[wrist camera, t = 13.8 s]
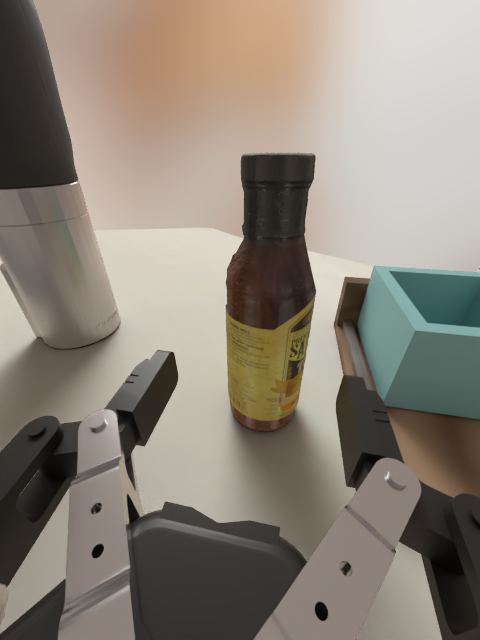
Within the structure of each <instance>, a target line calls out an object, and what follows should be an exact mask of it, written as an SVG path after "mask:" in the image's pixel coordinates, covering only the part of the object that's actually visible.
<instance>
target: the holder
mask: <svg viewBox="0 0 480 640" xmlns="http://www.w3.org/2000/svg"><path fill="white" fill-rule="evenodd" d="M356 327H357V330H358V333H359V336H360V339H361V342H362V345H363V348H364V352H365V355H366V358H367V361H368V364H369V367H370V370H371V373H372V376H373V380H374V383H375V386H376V389H377V392H378V395H379V396H380V397H381V399H382V400H383V401H384V404H385V406H390V407H397V408H404V409H411V410H418V411H425V412H432V413H439V414H446V415H453V416H460V417H467V418H474V419H480V273H479V272H462V271H446V270H431V269H415V268H400V267H384V266H374V267H373V271H372V274H371V278H370V281H369V285H368V288H367V291H366V295H365V298H364V302H363V305H362V309H361V312H360V315H359V319H358V322H357V326H356Z"/></svg>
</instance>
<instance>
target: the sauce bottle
mask: <svg viewBox="0 0 480 640" xmlns="http://www.w3.org/2000/svg"><path fill="white" fill-rule="evenodd" d="M314 168H315V155H314V154H312V153H307V154H306V153H250V154H243V155H242V157H241V180H242V187H243V190H244V224H243V225H242V230H243V235H244V240H243V241H242V243H241V245H240V247H239V249H238V251H237V252H236V253H235V254H234V255H233V256H232V259H231V262H230V264H229V266H228V269H227V279H226V286H227V305H226V332H227V365H228V391H229V398H230V404H231V409H232V412H233V413H234V415H235V417H236V419H237V420H238V421H239V422H240V423H241V424H243V425H244V426H245V427H247V428H250V429H253V430H257V431H274V430H277V429H279V428H281V427H283V426H284V425H285V424H287V422H288V421H289V420H290V418H291V417H292V415H293V413H294V410H295V407H296V406H297V403H298V399H299V393H300V386H301V380H302V375H303V369H304V363H305V357H306V350H307V345H308V339H309V332H310V327H311V326H310V325H311V319H312V314H313V309H314V301H315V294H316V289H315V284H314V280H313V276H312V271H311V267H310V262H309V258H308V253H307V248H306V243H305V237H304V233H305V216H306V208H307V202H308V190H309V188H310V186H311V184H312V182H313V179H314Z"/></svg>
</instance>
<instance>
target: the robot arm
mask: <svg viewBox="0 0 480 640" xmlns="http://www.w3.org/2000/svg"><path fill="white" fill-rule="evenodd" d="M0 258H1V260H2V262H3V264H1V266H0V270H1V272H2V274H3V276H4V277H5V279H6V281H7V283H8V285H9V287H10V289H11V290H12V292H13V294H14V296H15V298H16V300H17V302H18V304H19V305H20V307H21V309H22V311H23V313H24V315H25V317H26V319H27V320H28V322H29V324H30V326H31V328H32V330H33V332H34V333H35V335H36V337H41V338H43V340H44V342H45V343H46V344H47V345H48V346H51V347H54V348H60V349H67V348H76V347H81V346H85V345H89V344H92V343H94V342H97V341H99V340H101V339H103V338H105V337H107V336H108V335H110V334H111V333H112V332H113V331H115V329H116V328H117V327H118V326H119V323H120V316H119V313H118V309H117V306H116V303H115V299H114V296H113V292H112V289H111V286H110V282H109V279H108V276H107V272H106V269H105V266H104V263H103V259H102V256H101V253H100V249H99V246H98V243H97V239H96V236H95V233H94V229H93V226H92V223H91V219H90V216H89V213H88V210H87V206H86V203H85V200H84V196H83V193H82V190H81V187H80V184H79V181H78V177H77V174H76V170H75V166H74V161H73V151H72V144H71V139H70V135H69V132H68V127H67V124H66V120H65V116H64V112H63V109H62V104H61V100H60V97H59V93H58V89H57V84H56V80H55V76H54V72H53V68H52V63H51V59H50V55H49V51H48V47H47V43H46V40H45V36H44V32H43V29H42V26H41V23H40V20H39V17H38V14H37V11H36V8H35V5H34V2H33V0H0ZM177 381H178V371H177V366H176V360H175V355H174V353H173V352H169V351H161V350H157V351H156V352H155V354H154V355H153V356H152V358H151V359H150V360H148V359H145V360H144V361H143V362H141V363H140V364H138V365H137V366H136V367H135V369H134V370H133V371H132V373H131V374H130V376H129V377H128V378H127V379H126V381H125V383H123V385H122V386H121V387H120V389H119V390H118V391H117V393H116V394H115V395H114V397H113V398H112V399H111V401H110V402H109V403H108V405H107V406H106V407H105V408H104V409H103V410H99V411H96V412H94V413H92V414H90V415H89V416H87V417H86V418H85V419H84V420H83V421H79V422H72V423H64V424H60V422H59V421H58V419H57V418H56V417H53V416H44V417H40V418H37V419H35V420H33V421H31V422H30V423H28V424H27V425H26V426H25V427H24V428H23V429H22V430H21V431H20V432H19V433H18V434H17V435H16V436H15V437H14V438H13V439H12V440H11V441H10V443H9V444H8V445H7V446H6V447H5V448H4V449H3V450H2V451H1V452H0V624H1V622H2V620H3V618H4V610H5V607H6V604H7V599H8V590H7V586H8V585H9V583H10V582H11V580H12V578H13V577H14V575H15V574H16V572H17V570H18V569H19V567H20V566H21V564H22V562H23V561H24V559H25V558H26V556H27V554H28V553H29V551H30V549H31V548H32V546H33V545H34V543H35V541H36V540H37V538H38V537H39V535H40V533H41V532H42V530H43V529H44V527H45V525H46V524H47V522H48V521H49V519H50V517H51V516H52V514H53V513H54V511H55V509H56V508H57V506H58V504H59V503H60V501H61V500H62V498H63V496H64V495H65V493H66V492H67V490H68V488H69V487H70V499H69V521H68V544H67V566H66V579H64V580H63V581H62V582H61V583H60V584H59V585H57V586H56V587H55V588H54V589H53V590H52V591H50V592H49V593H48V594H47V595H46V596H44V597H43V598H42V599H41V600H40V601H39V602H37V603H36V604H35V605H34V606H33V607H32V608H30V609H29V610H28V611H27V612H26V613H24V614H23V615H22V616H21V617H20V618H19V619H17V620H16V621H15V622H14V623H13V624H12V625H10V626H9V627H8V628H7V629H6V630H4V631H3V632H2V633H1V634H0V640H355V639H356V637H357V635H358V633H359V631H360V629H361V627H362V624H363V622H364V620H365V618H366V616H367V614H368V612H369V610H370V607H371V605H372V603H373V601H374V599H375V597H376V595H377V593H378V591H379V588H380V586H381V584H382V582H383V580H384V578H385V576H386V574H387V572H388V569H389V567H390V565H391V563H392V561H393V559H394V556H395V553H396V551H395V548H396V545H397V543H398V541H399V542H401V543H403V544H405V545H406V546H408V547H410V548H411V549H413V550H415V551H417V552H418V553H420V554H421V556H422V560H423V564H424V568H425V572H426V576H427V580H428V584H429V588H430V592H431V596H432V600H433V604H434V608H435V612H436V616H437V620H438V624H439V628H440V632H441V636H442V640H480V498H479V497H477V496H475V495H471V494H466V493H462V494H458V495H457V496H455V497H454V498H453V497H451V496H449V495H447V494H444V493H442V492H440V491H438V490H436V489H434V488H432V487H430V486H428V485H426V484H424V483H423V482H421V481H420V480H419V479H418V478H417V476H416V475H415V473H414V472H413V471H412V470H411V469H410V468H409V467H408V466H406V465H405V463H404V461H403V458H402V455H401V452H400V449H399V446H398V443H397V440H396V437H395V434H394V431H393V428H392V425H391V424H390V419H389V416H388V414H387V410H386V407H385V404H384V401H383V400H382V399H381V397H380V396H379V395H378V394H377V392H376V391H374V390H367V388H366V385H365V381H364V378H363V377H360V376H352V375H344V376H343V379H342V382H341V385H340V389H339V392H338V395H337V400H336V414H337V421H338V428H339V436H340V443H341V450H342V457H343V465H344V472H345V479H346V486H347V487H353V488H356V493H355V495H354V496H353V498H352V499H351V501H350V502H349V504H348V505H347V506H345V508H344V509H343V510H342V512H341V513H340V515H339V516H338V518H337V519H336V521H335V522H334V523H333V525H332V526H331V528H330V529H329V531H328V532H327V534H326V535H325V537H324V538H323V540H322V541H321V543H320V544H319V546H318V547H317V549H316V550H315V552H314V553H313V554H312V556H311V557H310V559H309V560H308V562H307V561H306V560H305V558H304V557H303V556H302V555H301V553H300V552H299V551H298V550H297V549H296V548H295V547H294V546H293V545H292V544H290V543H289V542H288V541H287V540H285V539H284V538H282V537H280V536H279V532H280V527H276V526H272V525H267V524H263V523H258V522H254V521H240V522H229V523H217V522H215V521H214V520H212V519H210V518H209V517H207V516H205V515H204V514H202V513H200V512H199V511H197V510H195V509H194V508H192V507H187V506H183V505H179V504H174V503H170V502H165V504H164V506H163V509H162V510H159V511H154V512H151V513H148V514H146V515H144V513H143V509H142V505H141V501H140V498H139V493H138V486H137V480H136V474H135V467H134V461H133V455H132V451H133V449H134V447H135V446H136V445H140V446H145V445H146V443H147V441H148V439H149V437H150V435H151V434H152V432H153V430H154V428H155V426H156V424H157V422H158V420H159V418H160V416H161V414H162V412H163V410H164V408H165V407H166V405H167V403H168V401H169V399H170V397H171V395H172V393H173V391H174V389H175V387H176V385H177ZM37 471H38V472H37ZM36 472H37V473H36ZM35 473H36V474H35ZM34 475H35V476H34ZM33 476H34V477H33ZM76 476H77V477H76ZM32 477H33V478H32ZM75 477H76V478H75ZM31 479H32V480H31ZM30 480H31V481H30ZM29 481H30V482H29ZM28 483H29V484H28ZM27 484H28V485H27ZM26 485H27V486H26ZM25 487H26V488H25ZM24 488H25V489H24ZM23 489H24V490H23ZM22 491H23V492H22ZM21 492H22V493H21ZM19 495H20V496H19Z"/></svg>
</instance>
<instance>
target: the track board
mask: <svg viewBox="0 0 480 640" xmlns="http://www.w3.org/2000/svg"><path fill="white" fill-rule="evenodd" d="M369 281H370V279H367V278H353V277H345V279H344V283H343V287H342V292H341V296H340V300H339V305H338V309H337V313H336V317H335V322H334V328H335V333H336V338H337V343H338V349H339V354H340V359H341V364H342V369H343V374H344V375H352V376H360V377H363V378H364V381H365V385H366V388H367V390H374V391H376V392H377V389H376V386H375V383H374V380H373V376H372V373H371V370H370V367H369V364H368V361H367V358H366V355H365V352H364V348H363V345H362V342H361V339H360V336H359V333H358V330H357V327H356V326H357V322H358V319H359V315H360V312H361V309H362V305H363V302H364V298H365V295H366V291H367V288H368V285H369ZM377 394H378V392H377ZM385 407H386V410H387V414H388V416H389V419H390V424H391V425H392V428H393V431H394V434H395V437H396V440H397V443H398V446H399V449H400V452H401V455H402V458H403V461H404V463H405V465H406V466H408V467H409V468H410V469H411V470H412V471H413V472H414V473H415V475H416V476H417V478H418V479H419V480H420V481H421V482H423V483H424V484H426V485H428V486H430V487H432V488H434V489H436V490H438V491H440V492H442V493H444V494H447V495H449V496H451V497H453V498H454V497H455V496H457V495H458V494H462V493H466V494H471V495H475V496H477V497H479V498H480V419H474V418H467V417H460V416H453V415H446V414H439V413H432V412H425V411H418V410H411V409H404V408H397V407H390V406H385Z"/></svg>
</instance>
